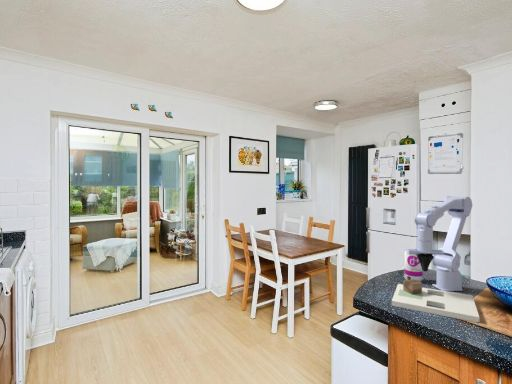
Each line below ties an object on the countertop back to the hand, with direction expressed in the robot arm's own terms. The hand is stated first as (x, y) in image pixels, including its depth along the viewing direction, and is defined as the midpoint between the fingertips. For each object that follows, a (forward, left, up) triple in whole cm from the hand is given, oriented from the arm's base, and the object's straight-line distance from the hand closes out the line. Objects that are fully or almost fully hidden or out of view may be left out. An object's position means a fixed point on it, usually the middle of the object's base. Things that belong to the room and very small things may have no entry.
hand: (424, 270), depth 127 cm
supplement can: (-6, -18, -11) cm, 22 cm away
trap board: (+2, +10, -10) cm, 15 cm away
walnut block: (+7, +2, -8) cm, 11 cm away
